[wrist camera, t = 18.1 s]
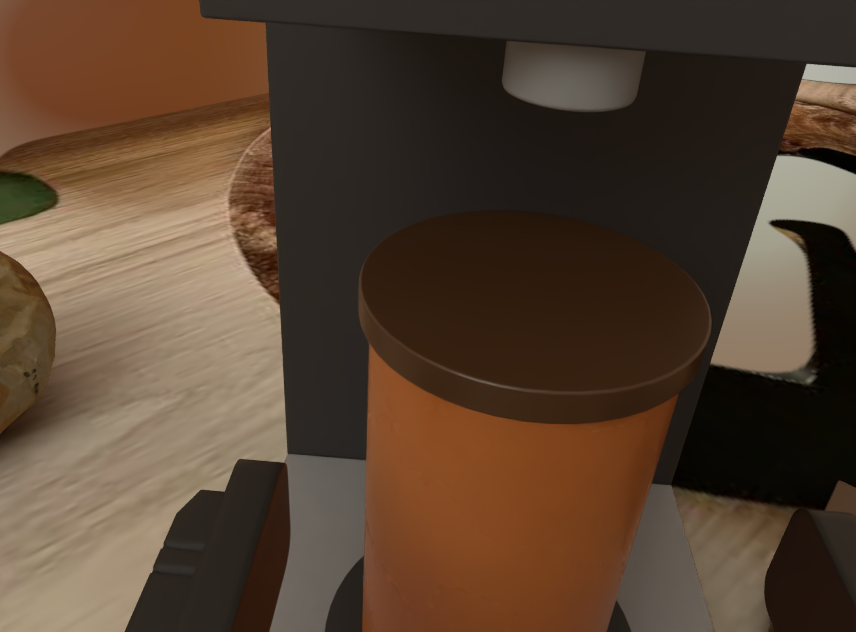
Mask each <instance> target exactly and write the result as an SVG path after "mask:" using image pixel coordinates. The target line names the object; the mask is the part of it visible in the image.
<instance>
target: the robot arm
mask: <svg viewBox="0 0 856 632" xmlns="http://www.w3.org/2000/svg"><path fill="white" fill-rule="evenodd" d="M290 537H291V523H290V504H289V484H288V469H287V464H286V463H280V462H269V461H257V460H245V459H239V460H238V461H237V463H236V464H235V467H234V469H233V472H232V474H231V477H230V480H229V482H228V485H227V487H226V490H225V492H221V491H210V490H200V491H199V492H198V493H197V494H196V495H195V496H194V497H193V498H192V499H191V500H190V501H189V502H188V503H187V504H186V505H185V506H184V507H183V508H182V509H181V510H180V511H179V512H178V513H177V514H176V516H175V518H174V521H173V523H172V525H171V527H170V530H169V532H168V534H167V537H166V539H165V541H164V546H163V549H161V550H160V552H159V555H158V557H157V559H156V562H155V564H154V566H153V572H152V573H150V575H149V577H148V580H147V582H146V584H145V587H144V589H143V591H142V593H141V596H140V598H139V600H138V602H137V605H136V607H135V609H134V612H133V614H132V616H131V618H130V621H129V623H128V625H127V627H126V630H125V632H269V631H270V628H271V624H272V620H273V616H274V612H275V608H276V605H277V601H278V597H279V593H280V589H281V585H282V582H283V578H284V574H285V570H286V566H287V561H288V555H289V548H290ZM764 594H765V603H766V608H767V611H768V615H769V617H770V620H771V623H772V625H773V628H774V631H775V632H856V517H855V516H854V515H853V514H851V513H846V512H834V511H823V510H811V509H798V510H797V511H795V513H794V514H793V516H792V517H791V520H790V522H789V524H788V526H787V528H786V531H785V533H784V535H783V537H782V539H781V541H780V544H779V546H778V548H777V550H776V552H775V555H774V557H773V559H772V561H771V563H770V566H769V568H768V570H767V573H766V577H765V586H764Z"/></svg>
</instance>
